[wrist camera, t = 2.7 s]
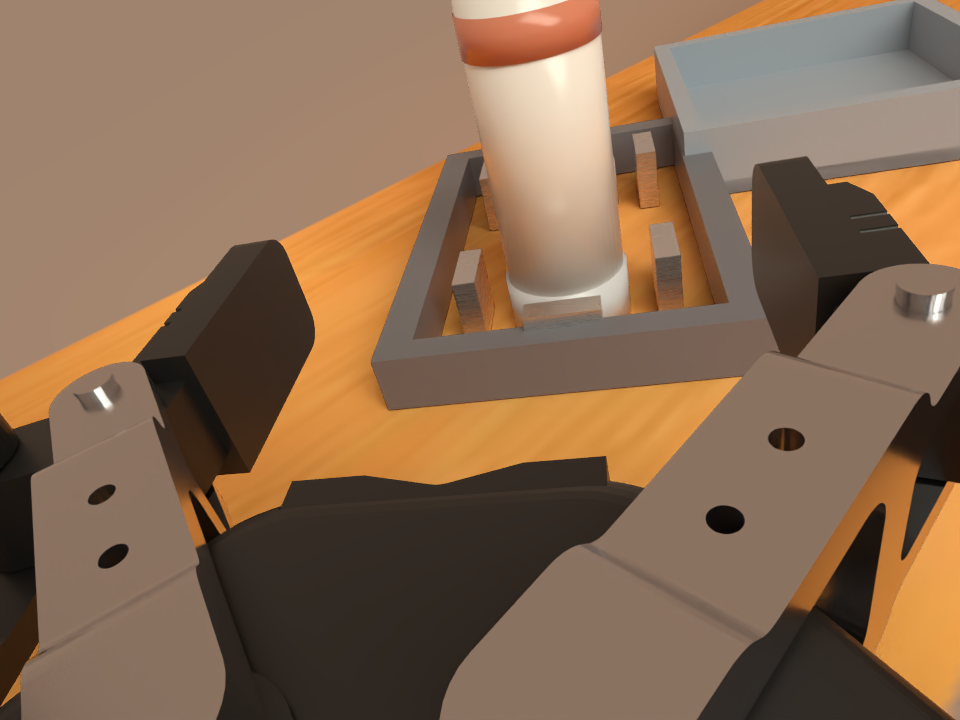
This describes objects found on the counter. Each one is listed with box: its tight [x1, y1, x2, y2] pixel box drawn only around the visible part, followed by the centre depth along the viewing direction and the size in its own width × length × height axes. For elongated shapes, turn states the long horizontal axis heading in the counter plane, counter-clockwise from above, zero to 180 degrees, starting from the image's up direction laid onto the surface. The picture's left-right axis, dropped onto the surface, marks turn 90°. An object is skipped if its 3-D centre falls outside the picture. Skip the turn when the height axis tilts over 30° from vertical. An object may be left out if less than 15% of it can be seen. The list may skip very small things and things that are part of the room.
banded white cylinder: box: [451, 0, 631, 328], centre depth 22 cm, size 4×4×14 cm
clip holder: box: [371, 117, 779, 410], centre depth 29 cm, size 12×18×2 cm
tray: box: [654, 0, 960, 193], centre depth 35 cm, size 14×14×3 cm
